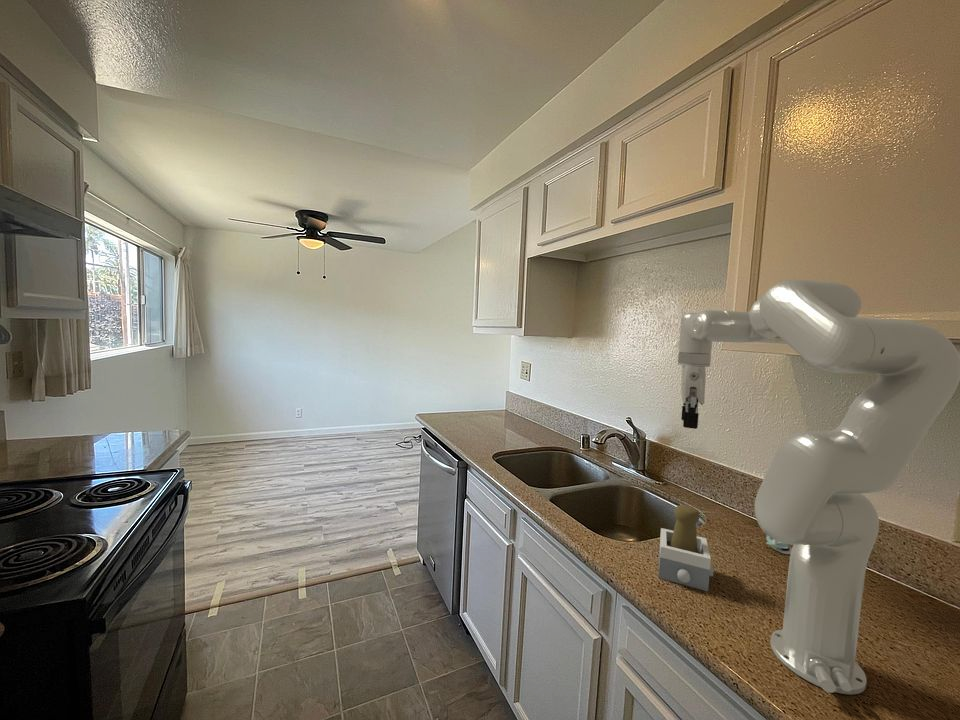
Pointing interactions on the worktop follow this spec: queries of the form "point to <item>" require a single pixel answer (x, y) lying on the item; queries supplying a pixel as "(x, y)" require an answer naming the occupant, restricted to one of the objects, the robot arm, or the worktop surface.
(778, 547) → the pacifier
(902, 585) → the worktop surface
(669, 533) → the grey plastic box
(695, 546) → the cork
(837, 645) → the robot arm
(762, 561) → the worktop surface
